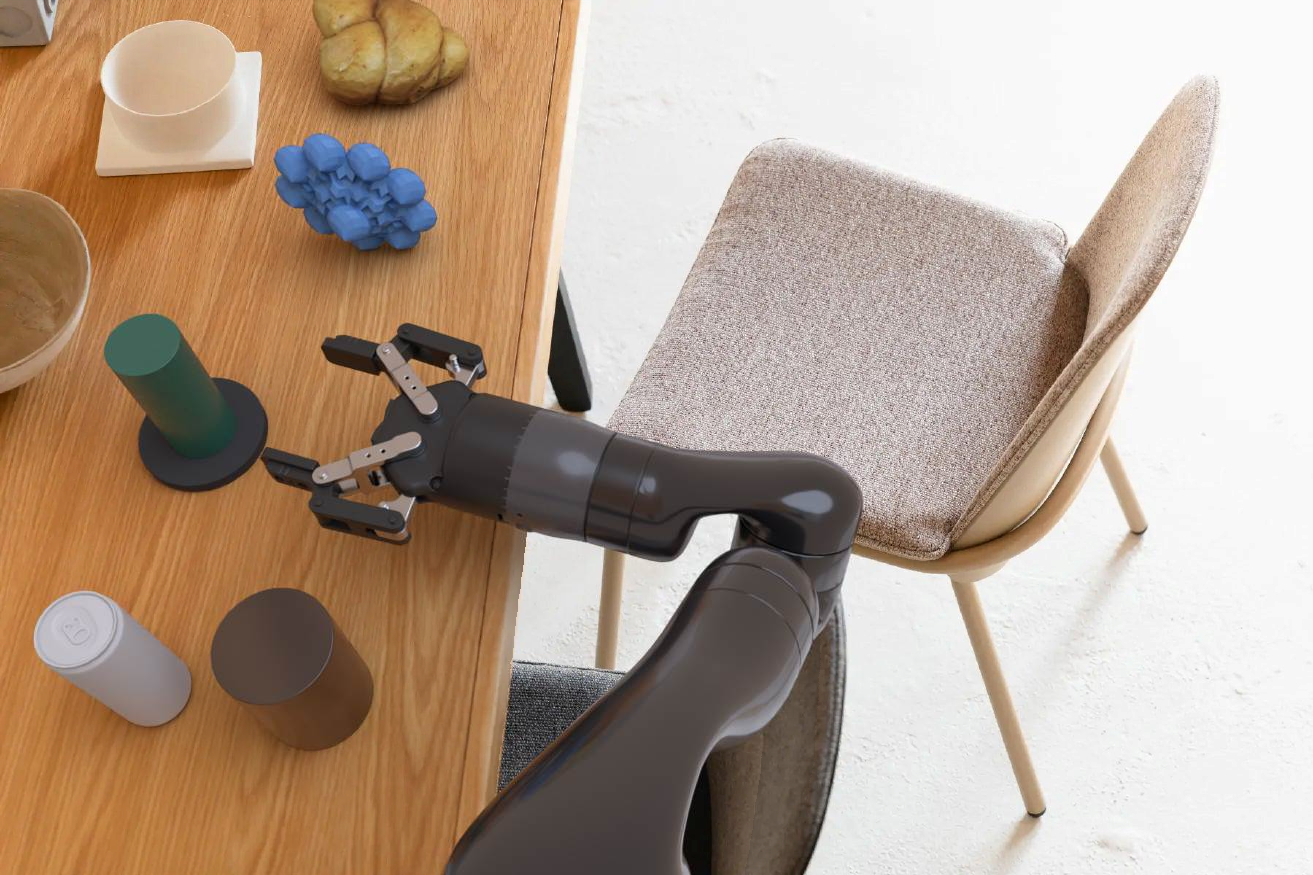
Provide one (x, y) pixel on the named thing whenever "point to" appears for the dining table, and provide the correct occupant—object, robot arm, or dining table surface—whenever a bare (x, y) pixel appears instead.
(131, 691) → the beverage can
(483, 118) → the dining table surface
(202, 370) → the tea tin
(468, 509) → the robot arm
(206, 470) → the mat
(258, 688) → the stand
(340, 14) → the bread roll
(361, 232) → the grapes
